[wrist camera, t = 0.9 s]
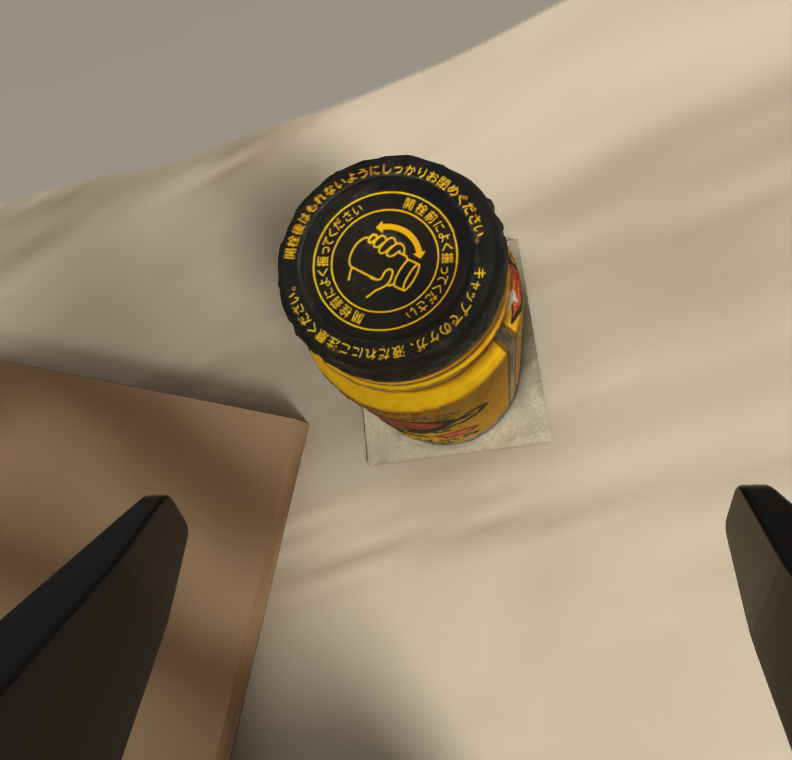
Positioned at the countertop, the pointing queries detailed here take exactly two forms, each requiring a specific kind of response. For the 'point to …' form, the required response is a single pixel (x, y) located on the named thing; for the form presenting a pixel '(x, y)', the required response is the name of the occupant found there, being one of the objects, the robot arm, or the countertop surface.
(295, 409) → the countertop surface
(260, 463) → the walnut board
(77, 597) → the robot arm
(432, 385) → the condiment
